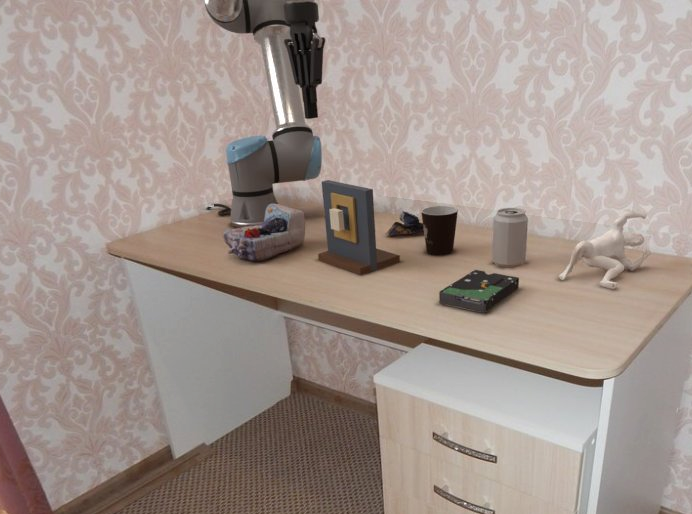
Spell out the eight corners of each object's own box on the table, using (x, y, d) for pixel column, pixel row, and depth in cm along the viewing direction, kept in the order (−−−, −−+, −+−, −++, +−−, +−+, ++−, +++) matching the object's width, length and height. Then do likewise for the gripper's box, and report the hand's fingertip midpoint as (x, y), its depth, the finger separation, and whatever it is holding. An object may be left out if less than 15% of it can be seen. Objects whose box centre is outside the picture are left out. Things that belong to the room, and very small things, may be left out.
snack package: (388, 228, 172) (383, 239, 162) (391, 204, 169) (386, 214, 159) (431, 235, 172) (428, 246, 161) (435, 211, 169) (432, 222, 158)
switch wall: (360, 275, 139) (354, 193, 131) (318, 260, 150) (310, 183, 141) (400, 261, 146) (397, 183, 137) (357, 248, 157) (351, 174, 148)
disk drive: (473, 281, 133) (438, 304, 122) (474, 269, 131) (438, 290, 121) (519, 290, 127) (486, 314, 117) (520, 276, 126) (486, 300, 116)
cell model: (309, 204, 154) (244, 224, 142) (314, 246, 160) (252, 269, 147) (275, 197, 162) (210, 216, 149) (281, 237, 167) (219, 259, 155)
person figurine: (608, 239, 119) (646, 202, 129) (549, 242, 127) (588, 208, 138) (619, 300, 124) (654, 260, 134) (562, 299, 133) (598, 262, 143)
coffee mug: (455, 257, 147) (455, 215, 142) (419, 256, 149) (418, 215, 144) (460, 242, 157) (460, 202, 152) (426, 242, 159) (426, 202, 154)
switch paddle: (339, 231, 139) (337, 211, 137) (331, 228, 142) (329, 209, 139) (344, 229, 140) (342, 210, 138) (335, 227, 142) (334, 208, 140)
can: (526, 258, 144) (529, 206, 138) (523, 269, 138) (527, 215, 132) (494, 257, 146) (495, 205, 140) (489, 267, 140) (491, 214, 134)
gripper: (269, 4, 139) (283, 118, 150) (303, 0, 130) (314, 121, 141) (297, 3, 143) (308, 114, 154) (332, 0, 134) (341, 117, 145)
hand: (311, 117), depth 148 cm, fingers closed
